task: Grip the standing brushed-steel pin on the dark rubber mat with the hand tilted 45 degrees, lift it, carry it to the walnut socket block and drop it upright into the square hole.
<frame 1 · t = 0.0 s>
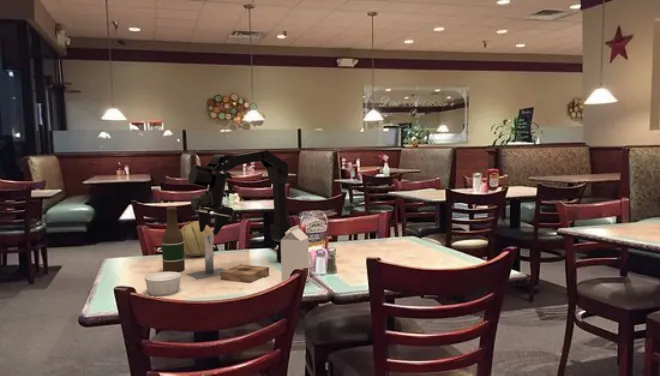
hand: (208, 233, 189), 15 cm above the table, tool pointing down, fingers open, 9 cm apart
beer bottle: (174, 272, 199), on the table
ramekin: (163, 292, 172), on the table
steel pin: (209, 273, 193), resting on rubber mat
cantaloupe: (196, 256, 226), on the table
socket block: (245, 277, 187), on the table
milk carton: (295, 283, 180), on the table
rubber mat: (209, 274, 193), on the table
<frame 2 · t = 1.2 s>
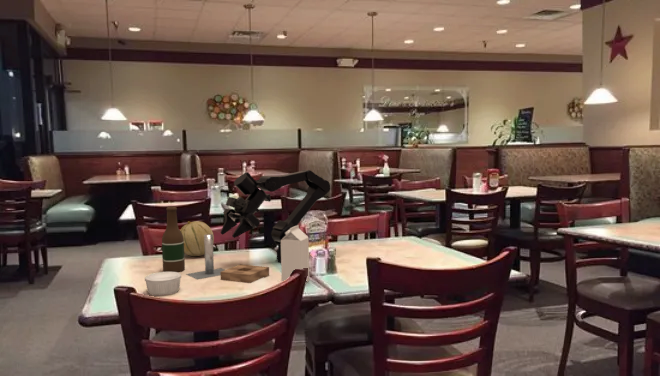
hand: (227, 235, 197), 13 cm above the table, tool tilted 45°, fingers open, 9 cm apart
nothing on the table moved.
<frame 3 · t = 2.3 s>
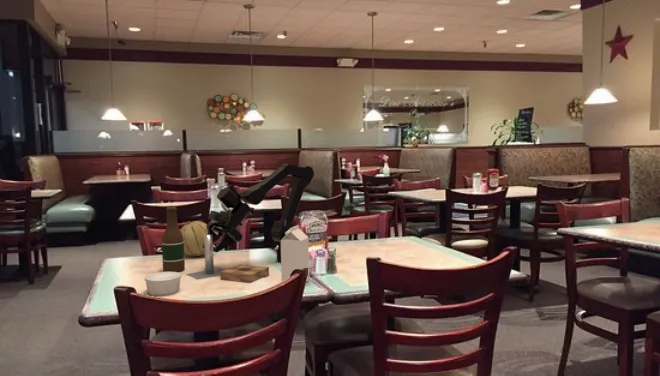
hand: (209, 249, 193), 9 cm above the table, tool tilted 45°, fingers open, 9 cm apart
nothing on the table moved.
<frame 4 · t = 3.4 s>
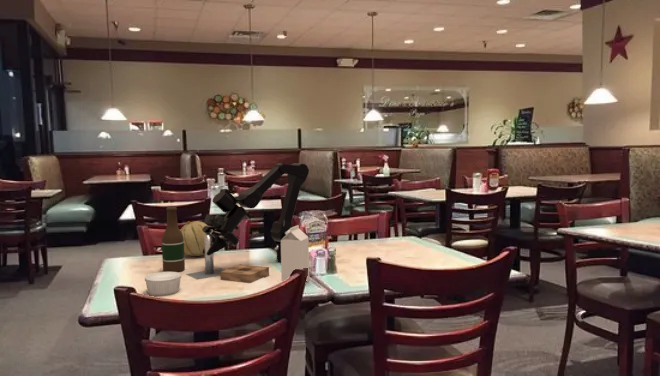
hand: (205, 254, 192), 8 cm above the table, tool tilted 45°, fingers closed on steel pin, 3 cm apart
steel pin: (209, 273, 193), resting on rubber mat, touching gripper
everything else where it was.
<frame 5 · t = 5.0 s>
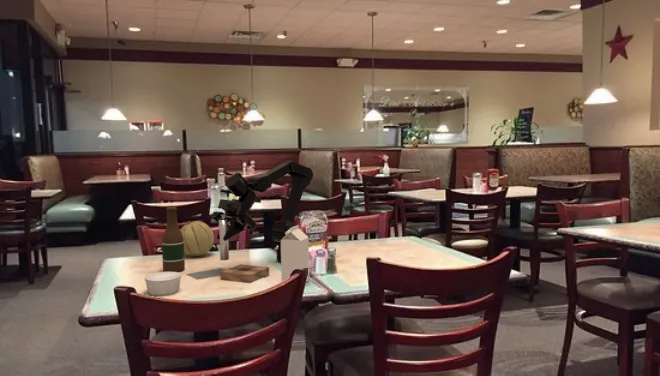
hand: (220, 239, 188), 13 cm above the table, tool tilted 45°, fingers closed on steel pin, 3 cm apart
steel pin: (224, 259, 189), point 6 cm above the table, touching gripper
everything else where it was.
when the fingers open (10 cm above the table, at t = 6.7 s): steel pin drops 2 cm, resting in socket block.
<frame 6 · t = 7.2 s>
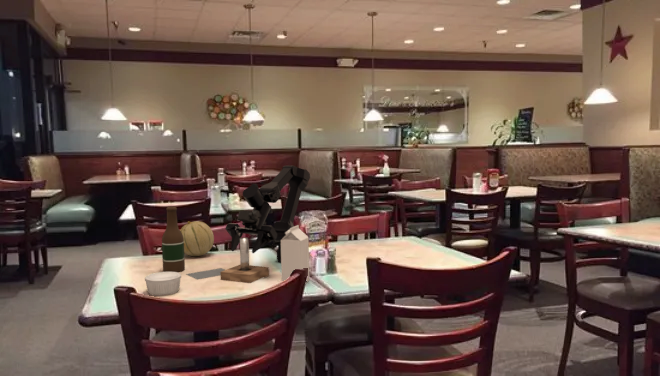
hand: (242, 251, 185), 10 cm above the table, tool tilted 45°, fingers open, 8 cm apart
steel pin: (245, 277, 187), resting in socket block
everything else where it was.
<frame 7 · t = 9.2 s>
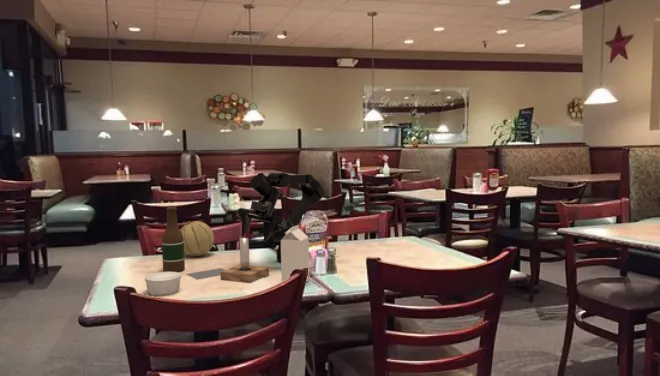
hand: (253, 239, 197), 12 cm above the table, tool tilted 35°, fingers open, 9 cm apart
nothing on the table moved.
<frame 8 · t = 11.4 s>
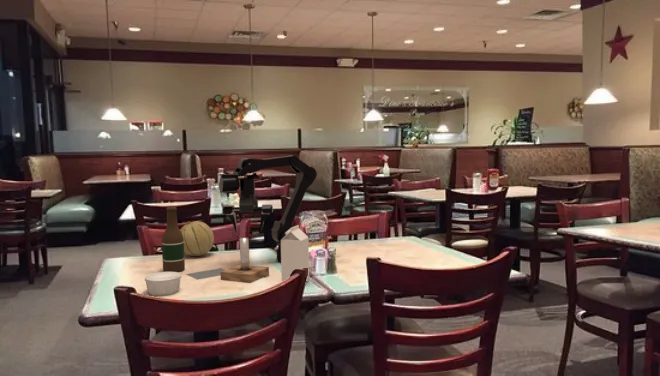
hand: (248, 231, 206), 13 cm above the table, tool pointing down, fingers open, 9 cm apart
nothing on the table moved.
at the end: steel pin 0.0 cm off-centre on the socket block, point 0.0 cm above the socket block's base; steel pin tilted 0°; the gripper is holding nothing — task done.
